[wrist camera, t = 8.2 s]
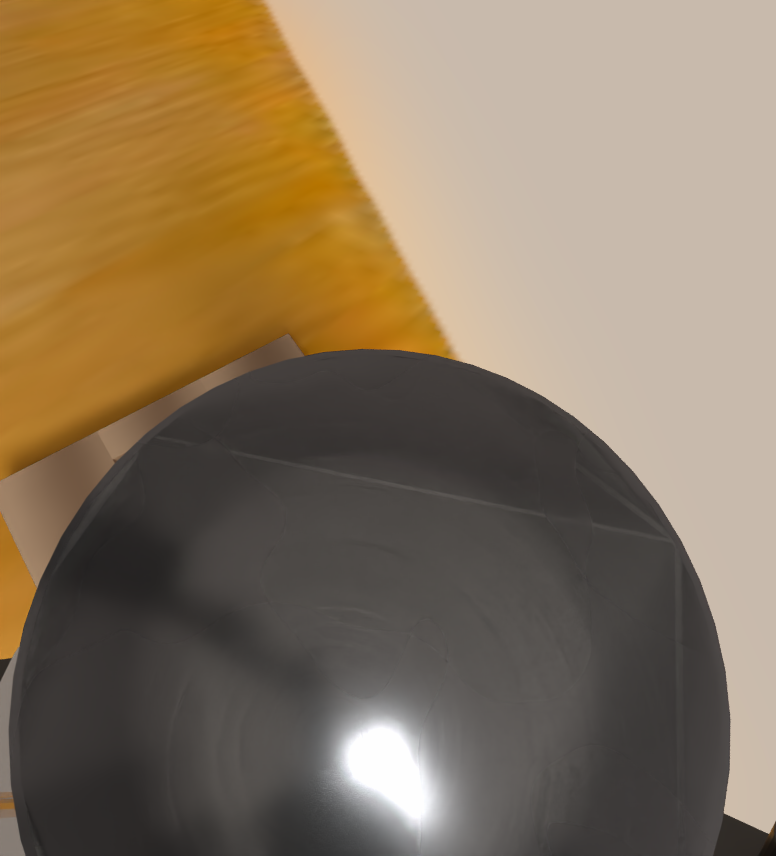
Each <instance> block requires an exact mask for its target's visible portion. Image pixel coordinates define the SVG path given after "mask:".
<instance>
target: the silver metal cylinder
mask: <svg viewBox="0 0 776 856" xmlns="http://www.w3.org/2000/svg"><path fill="white" fill-rule="evenodd" d="M8 731H9V756H10V780H11V789H12V795H13V800H14V806H15V812H16V818H17V823H18V829H19V835H20V840H21V843H22V846H23V849H24V853H25V856H713V854H714V850H715V846H716V843H717V839H718V835H719V832H720V828H721V824H722V820H723V813H724V806H725V799H726V791H727V784H728V777H729V770H730V769H729V767H730V712H729V702H728V692H727V682H726V672H725V667H724V662H723V658H722V653H721V649H720V644H719V640H718V635H717V631H716V626H715V623H714V620H713V617H712V614H711V611H710V608H709V605H708V602H707V599H706V596H705V594H704V591H703V588H702V585H701V582H700V579H699V578H698V575H697V573H696V571H695V569H694V567H693V565H692V563H691V560H690V558H689V556H688V554H687V552H686V550H685V548H684V546H683V544H682V542H681V540H680V538H679V537H678V535H677V533H676V532H675V530H674V529H673V527H672V525H671V524H670V522H669V520H668V519H667V517H666V515H665V514H664V512H663V511H662V509H661V507H660V506H659V504H658V503H657V502H656V500H655V499H654V498H653V496H652V495H651V494H650V493H649V491H648V490H647V489H646V488H645V486H644V485H643V484H642V482H641V481H640V480H639V479H638V477H637V476H636V475H635V473H634V472H633V471H632V470H631V469H630V468H629V467H628V466H627V465H626V464H625V463H624V462H623V461H622V460H621V459H620V458H619V456H618V455H617V454H616V453H614V451H613V450H612V449H611V448H610V447H609V446H608V445H607V444H606V443H605V442H604V441H603V440H601V439H600V438H599V437H598V436H596V435H595V434H594V433H593V432H592V431H590V430H589V429H588V428H587V427H585V426H584V425H583V424H582V423H581V422H580V421H578V420H577V419H576V418H575V417H573V416H572V415H570V414H569V413H567V412H565V411H564V410H563V409H561V408H560V407H558V406H557V405H555V404H554V403H552V402H551V401H549V400H548V399H546V398H544V397H543V396H541V395H539V394H537V393H536V392H534V391H532V390H530V389H528V388H526V387H524V386H522V385H520V384H518V383H516V382H514V381H512V380H510V379H508V378H506V377H503V376H500V375H498V374H495V373H492V372H490V371H487V370H485V369H482V368H479V367H477V366H474V365H471V364H467V363H463V362H459V361H455V360H452V359H448V358H444V357H440V356H436V355H429V354H422V353H415V352H408V351H401V350H374V349H358V350H345V351H333V352H323V353H318V354H313V355H308V356H303V357H298V358H293V359H287V360H284V361H281V362H278V363H275V364H272V365H268V366H265V367H262V368H259V369H256V370H253V371H250V372H247V373H245V374H243V375H241V376H238V377H236V378H234V379H232V380H230V381H227V382H225V383H223V384H221V385H218V386H216V387H214V388H212V389H211V390H209V391H207V392H206V393H204V394H202V395H200V396H199V397H197V398H195V399H194V400H192V401H190V402H189V403H187V404H185V405H184V406H182V407H180V408H179V409H177V410H176V411H175V412H173V413H172V414H171V415H169V416H168V417H167V418H165V419H164V420H163V421H162V422H160V423H159V424H158V425H156V426H155V427H154V428H152V429H151V430H150V431H148V432H147V433H146V434H145V435H144V436H143V437H142V438H141V439H140V440H138V441H137V442H136V443H135V444H134V445H133V446H132V447H131V448H130V449H129V450H128V451H127V452H126V453H125V454H124V455H123V456H122V457H121V458H120V459H119V460H118V461H117V462H115V464H114V465H113V466H112V467H111V468H110V470H109V471H108V472H107V473H106V474H105V476H104V477H103V478H102V479H101V480H100V482H99V483H98V484H97V485H96V487H95V488H94V489H93V490H92V491H91V493H90V494H89V495H88V496H87V497H86V499H85V501H84V502H83V504H82V505H81V507H80V508H79V510H78V511H77V513H76V514H75V516H74V518H73V519H72V521H71V522H70V524H69V525H68V527H67V528H66V530H65V531H64V533H63V535H62V536H61V538H60V540H59V542H58V544H57V546H56V548H55V550H54V552H53V554H52V556H51V559H50V561H49V563H48V565H47V567H46V569H45V571H44V573H43V575H42V577H41V579H40V582H39V585H38V587H37V590H36V593H35V596H34V599H33V602H32V605H31V607H30V610H29V613H28V616H27V619H26V622H25V625H24V628H23V633H22V638H21V642H20V647H19V652H18V656H17V661H16V665H15V670H14V675H13V683H12V695H11V706H10V717H9V729H8Z"/></svg>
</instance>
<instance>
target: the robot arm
mask: <svg viewBox="0 0 776 856" xmlns="http://www.w3.org/2000/svg"><path fill="white" fill-rule="evenodd" d="M18 652H19V648H18V649H17V651H16V652H15V654H14V655H13V657H12V658H9V659H2V660H0V856H25V853H24V849H23V846H22V843H21V840H20V835H19V829H18V823H17V818H16V812H15V806H14V800H13V795H12V789H11V780H10V756H9V731H8V729H9V717H10V706H11V695H12V683H13V675H14V670H15V665H16V661H17V656H18ZM713 856H776V822H775V824H774V826H773V828H772V830H771V832H770V834H767V833H765V832H763V831H761V830H758V829H756V828H754V827H752V826H750V825H748V824H746V823H743V822H741V821H739V820H737V819H735V818H733V817H730V816H728V815H726V814H724V813H723V820H722V824H721V828H720V832H719V835H718V839H717V843H716V846H715V850H714V854H713Z"/></svg>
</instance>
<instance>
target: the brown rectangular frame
mask: <svg viewBox="0 0 776 856" xmlns="http://www.w3.org/2000/svg"><path fill="white" fill-rule="evenodd" d="M303 356H304V354H303V353H302V352H301V350H300V349H299V347H298V346H297V345H296V343H295V342H294V340H293V339H292V338H291V336H290V335H289V334H286V335H284V336H282V337H280V338H278V339H276V340H275V341H273V342H271V343H269V344H267V345H265V346H263V347H261V348H259V349H257V350H255V351H253V352H251V353H249V354H247V355H245V356H243V357H241V358H239V359H237V360H235V361H233V362H232V363H230V364H228V365H226V366H224V367H222V368H220V369H218V370H216V371H214V372H212V373H210V374H208V375H206V376H204V377H202V378H200V379H198V380H196V381H194V382H192V383H190V384H189V385H187V386H185V387H183V388H181V389H179V390H177V391H175V392H173V393H171V394H169V395H167V396H165V397H163V398H161V399H159V400H157V401H155V402H153V403H151V404H149V405H147V406H145V407H144V408H142V409H140V410H138V411H136V412H134V413H132V414H130V415H128V416H126V417H124V418H122V419H120V420H118V421H116V422H114V423H112V424H110V425H108V426H106V427H104V428H102V429H101V430H99V431H97V432H95V433H93V434H91V435H89V436H87V437H85V438H83V439H81V440H79V441H77V442H75V443H73V444H71V445H69V446H67V447H65V448H63V449H61V450H59V451H58V452H56V453H54V454H52V455H50V456H48V457H46V458H44V459H42V460H40V461H38V462H36V463H34V464H32V465H30V466H28V467H26V468H24V469H22V470H20V471H18V472H16V473H15V474H13V475H11V476H9V477H7V478H5V479H3V480H1V481H0V512H1V514H2V516H3V518H4V520H5V522H6V524H7V526H8V528H9V531H10V533H11V535H12V537H13V539H14V541H15V543H16V545H17V547H18V550H19V552H20V554H21V556H22V558H23V560H24V562H25V564H26V566H27V568H28V571H29V573H30V575H31V577H32V579H33V581H34V583H35V585H36V587H38V585H39V582H40V579H41V577H42V575H43V573H44V571H45V569H46V567H47V565H48V563H49V561H50V559H51V556H52V554H53V552H54V550H55V548H56V546H57V544H58V542H59V540H60V538H61V536H62V535H63V533H64V531H65V530H66V528H67V527H68V525H69V524H70V522H71V521H72V519H73V518H74V516H75V514H76V513H77V511H78V510H79V508H80V507H81V505H82V504H83V502H84V501H85V499H86V497H87V496H88V495H89V494H90V493H91V491H92V490H93V489H94V488H95V487H96V485H97V484H98V483H99V482H100V480H101V479H102V478H103V477H104V476H105V474H106V473H107V472H108V471H109V470H110V468H111V467H112V466H113V465H114V464H115V462H117V461H118V460H119V459H120V458H121V457H122V456H123V455H124V454H125V453H126V452H127V451H128V450H129V449H130V448H131V447H132V446H133V445H134V444H135V443H136V442H137V441H138V440H140V439H141V438H142V437H143V436H144V435H145V434H146V433H147V432H148V431H150V430H151V429H152V428H154V427H155V426H156V425H158V424H159V423H160V422H162V421H163V420H164V419H165V418H167V417H168V416H169V415H171V414H172V413H173V412H175V411H176V410H177V409H179V408H180V407H182V406H184V405H185V404H187V403H189V402H190V401H192V400H194V399H195V398H197V397H199V396H200V395H202V394H204V393H206V392H207V391H209V390H211V389H212V388H214V387H216V386H218V385H221V384H223V383H225V382H227V381H230V380H232V379H234V378H236V377H238V376H241V375H243V374H245V373H247V372H250V371H253V370H256V369H259V368H262V367H265V366H268V365H272V364H275V363H278V362H281V361H284V360H287V359H293V358H298V357H303Z"/></svg>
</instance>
